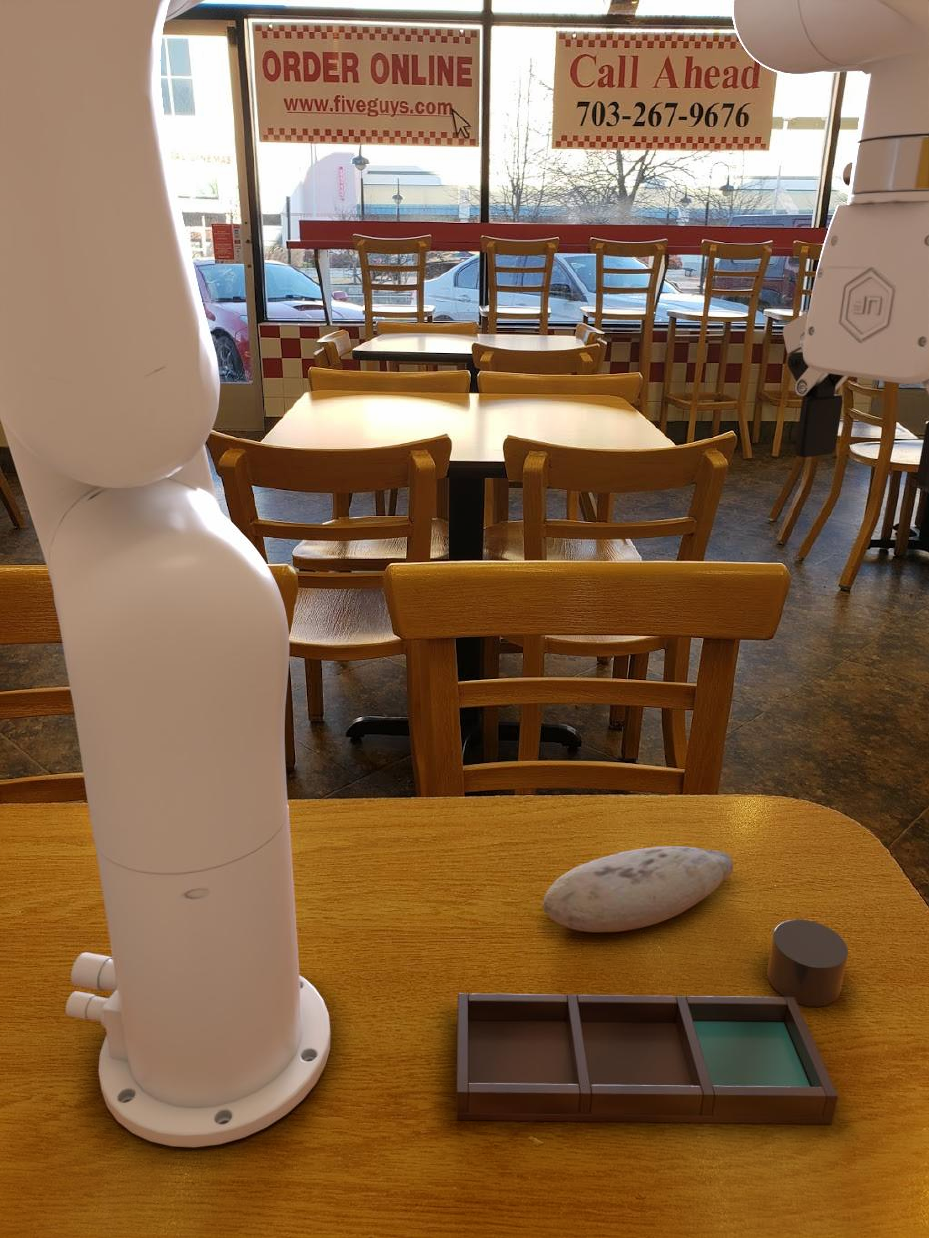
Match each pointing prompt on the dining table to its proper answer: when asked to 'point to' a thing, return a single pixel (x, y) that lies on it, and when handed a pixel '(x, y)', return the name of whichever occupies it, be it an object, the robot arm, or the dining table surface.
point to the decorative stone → (635, 888)
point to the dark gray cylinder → (807, 962)
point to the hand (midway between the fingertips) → (872, 468)
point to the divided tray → (639, 1060)
